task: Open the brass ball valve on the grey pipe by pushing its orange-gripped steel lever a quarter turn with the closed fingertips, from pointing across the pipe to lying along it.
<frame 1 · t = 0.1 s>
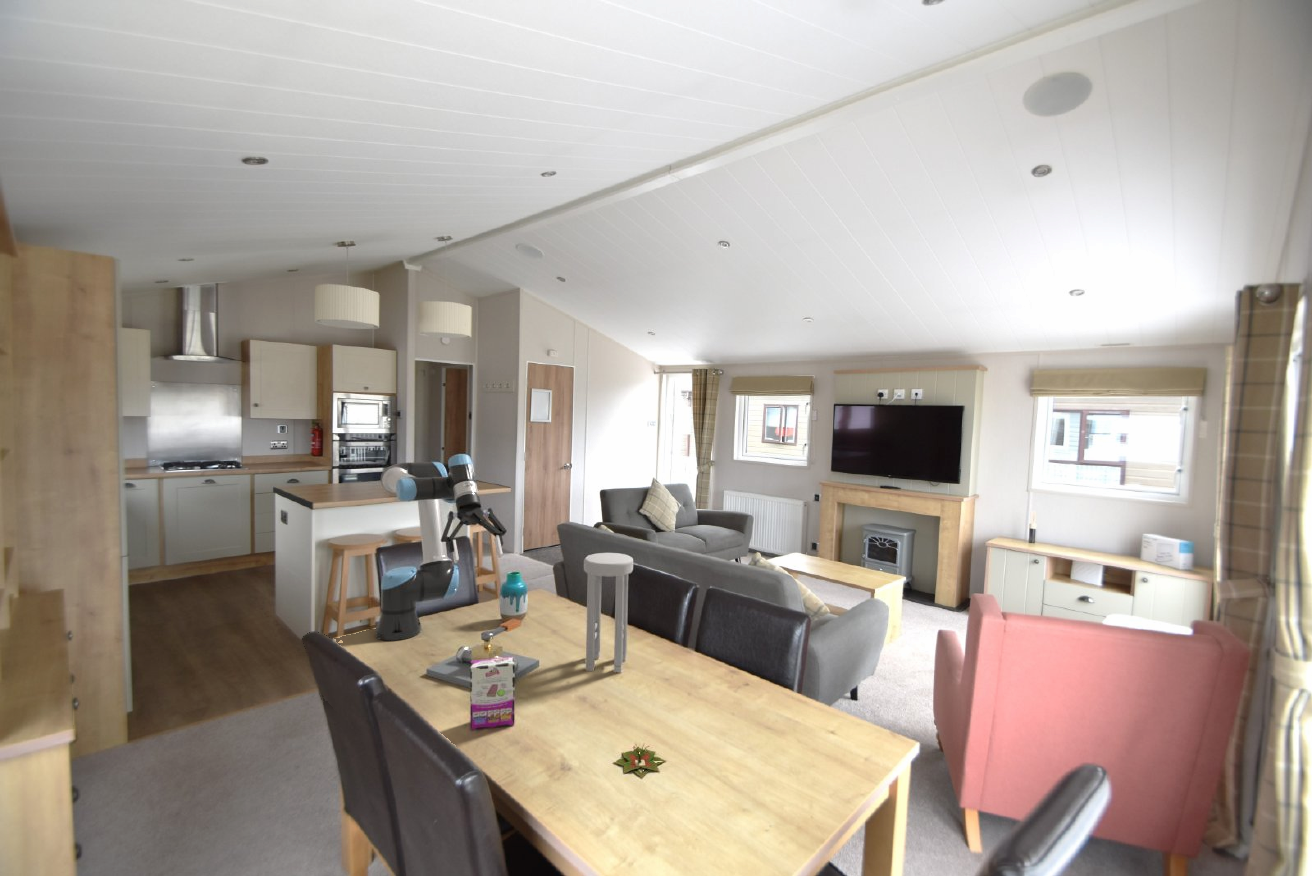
hand: (479, 558, 182), 36 cm above the table, tool tilted 35°, fingers open, 13 cm apart
valve pipe: (486, 673, 183), resting on valve board
vase: (513, 622, 229), on the table
candy bar box: (492, 724, 153), on the table
lily flower: (639, 765, 137), on the table
stool: (606, 664, 191), on the table
valve lever: (500, 629, 188), point 12 cm above the table, hinge at 0.0°
valve board: (484, 670, 184), on the table
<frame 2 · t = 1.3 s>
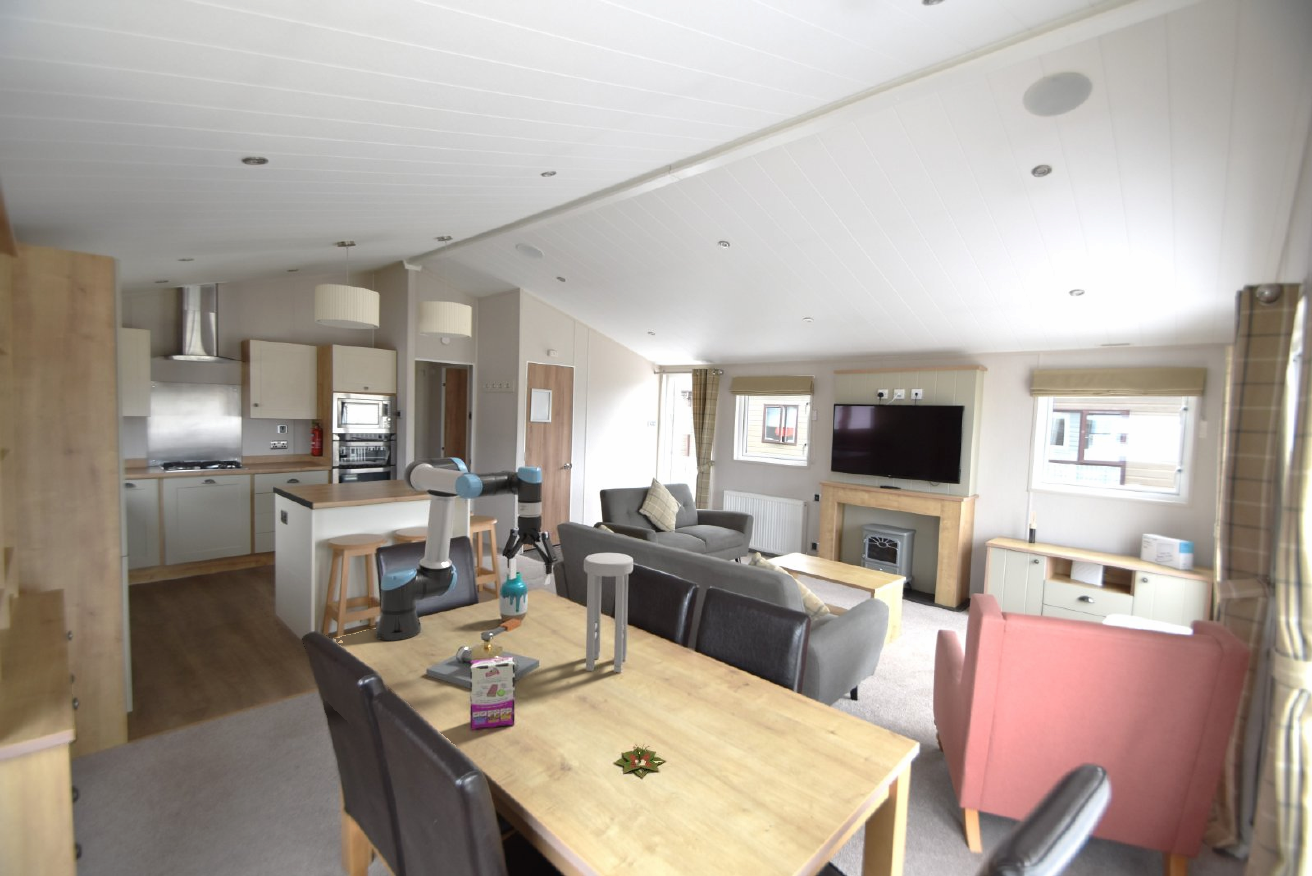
hand: (529, 581, 188), 27 cm above the table, tool pointing down, fingers open, 13 cm apart
nothing on the table moved.
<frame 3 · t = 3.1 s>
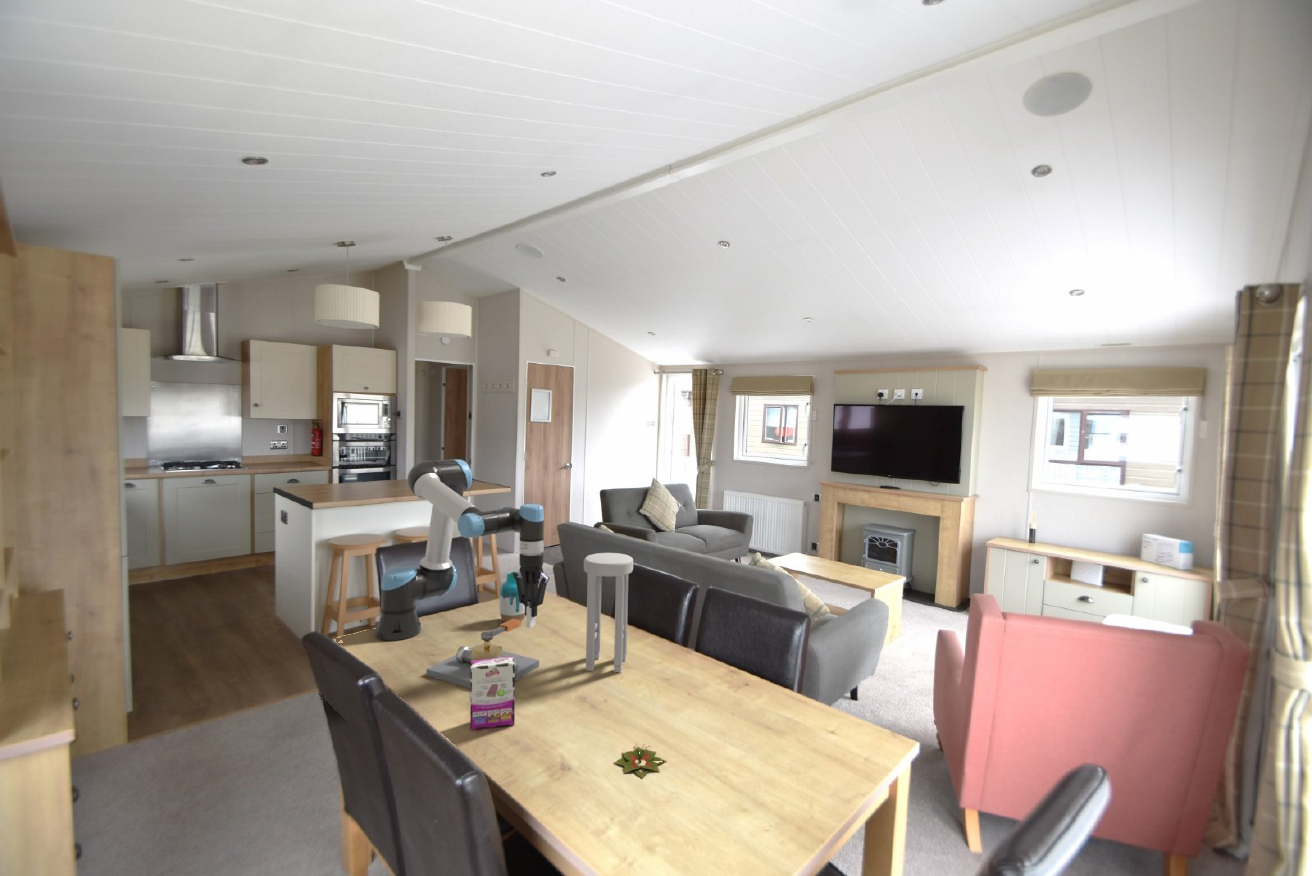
hand: (530, 626, 188), 13 cm above the table, tool pointing down, fingers closed
nothing on the table moved.
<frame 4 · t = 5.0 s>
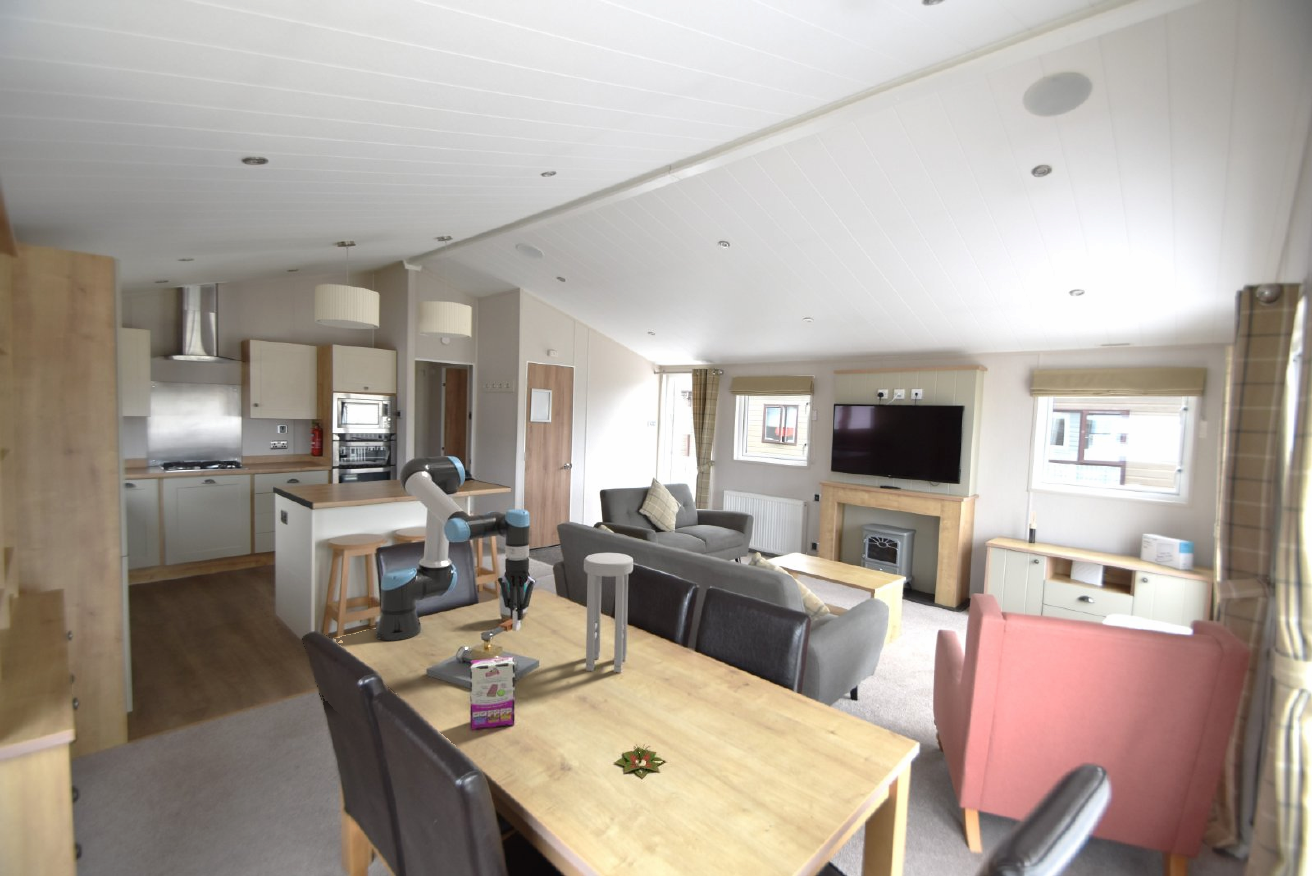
hand: (516, 629, 191), 11 cm above the table, tool pointing down, fingers closed
valve lever: (500, 629, 188), point 12 cm above the table, hinge at 1.5°, touching gripper
everything else where it was.
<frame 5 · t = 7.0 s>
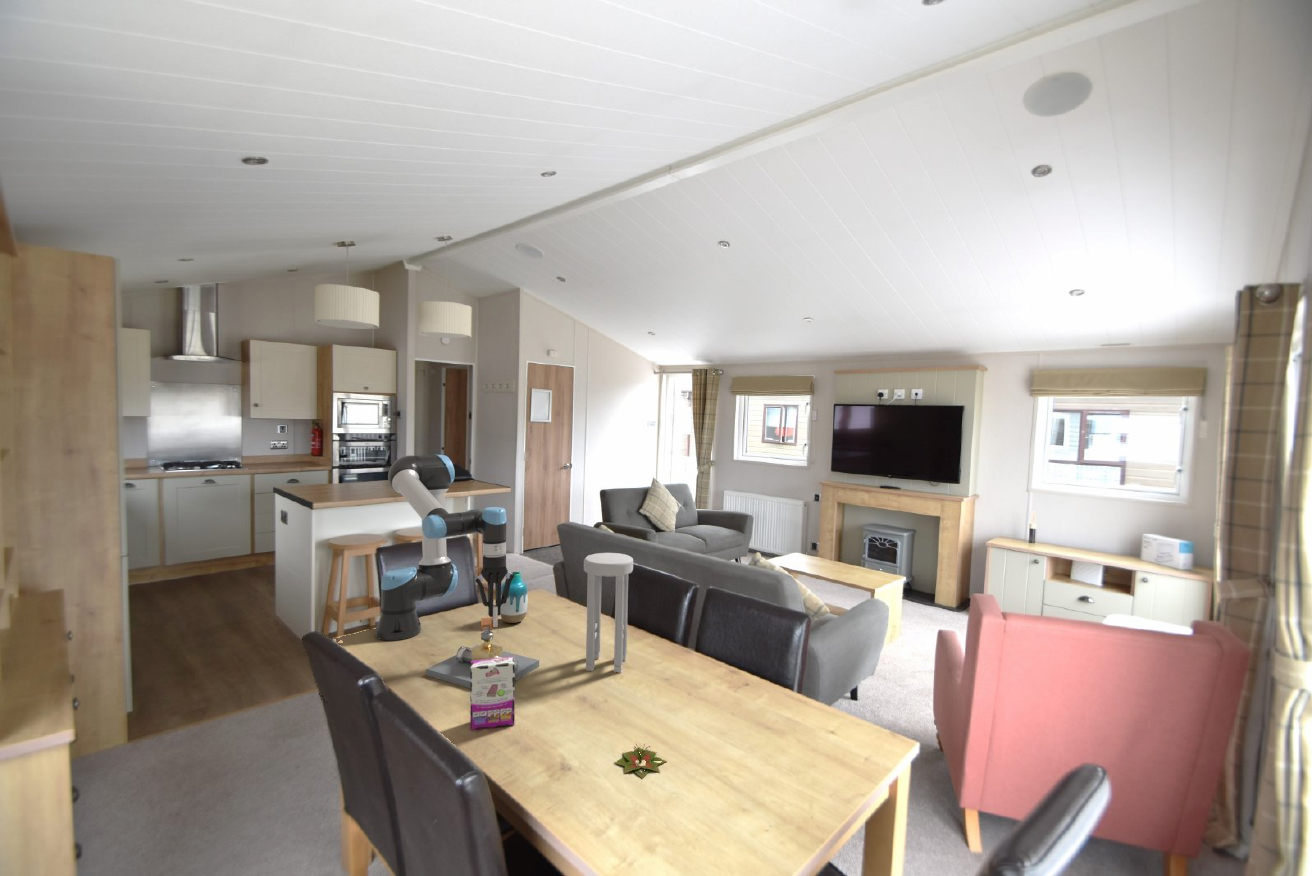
hand: (494, 625, 194), 11 cm above the table, tool pointing down, fingers closed
valve lever: (486, 629, 188), point 12 cm above the table, hinge at 43.6°, touching gripper
everything else where it was.
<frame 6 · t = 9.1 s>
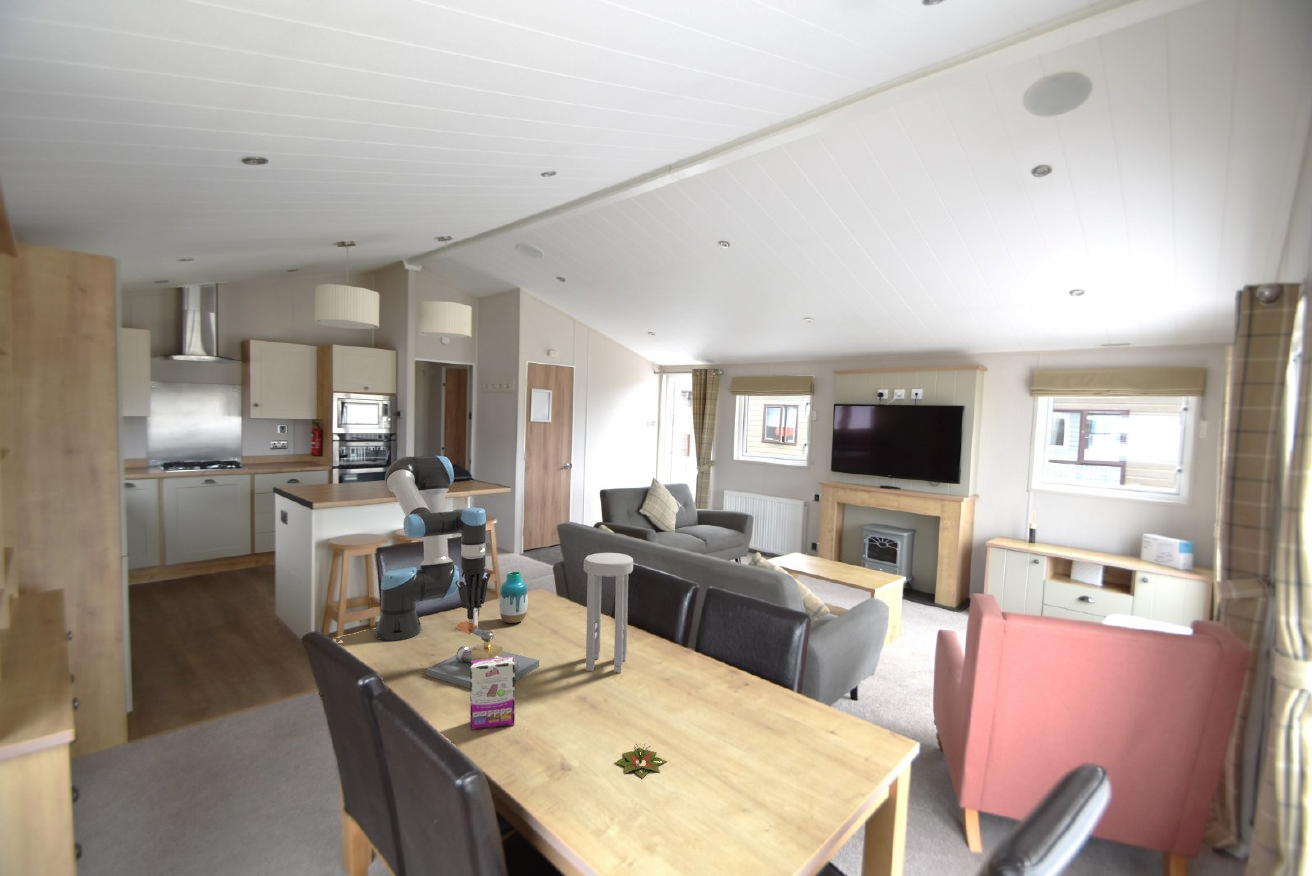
hand: (473, 627, 191), 11 cm above the table, tool pointing down, fingers closed
valve lever: (475, 631, 186), point 12 cm above the table, hinge at 76.8°, touching gripper
everything else where it was.
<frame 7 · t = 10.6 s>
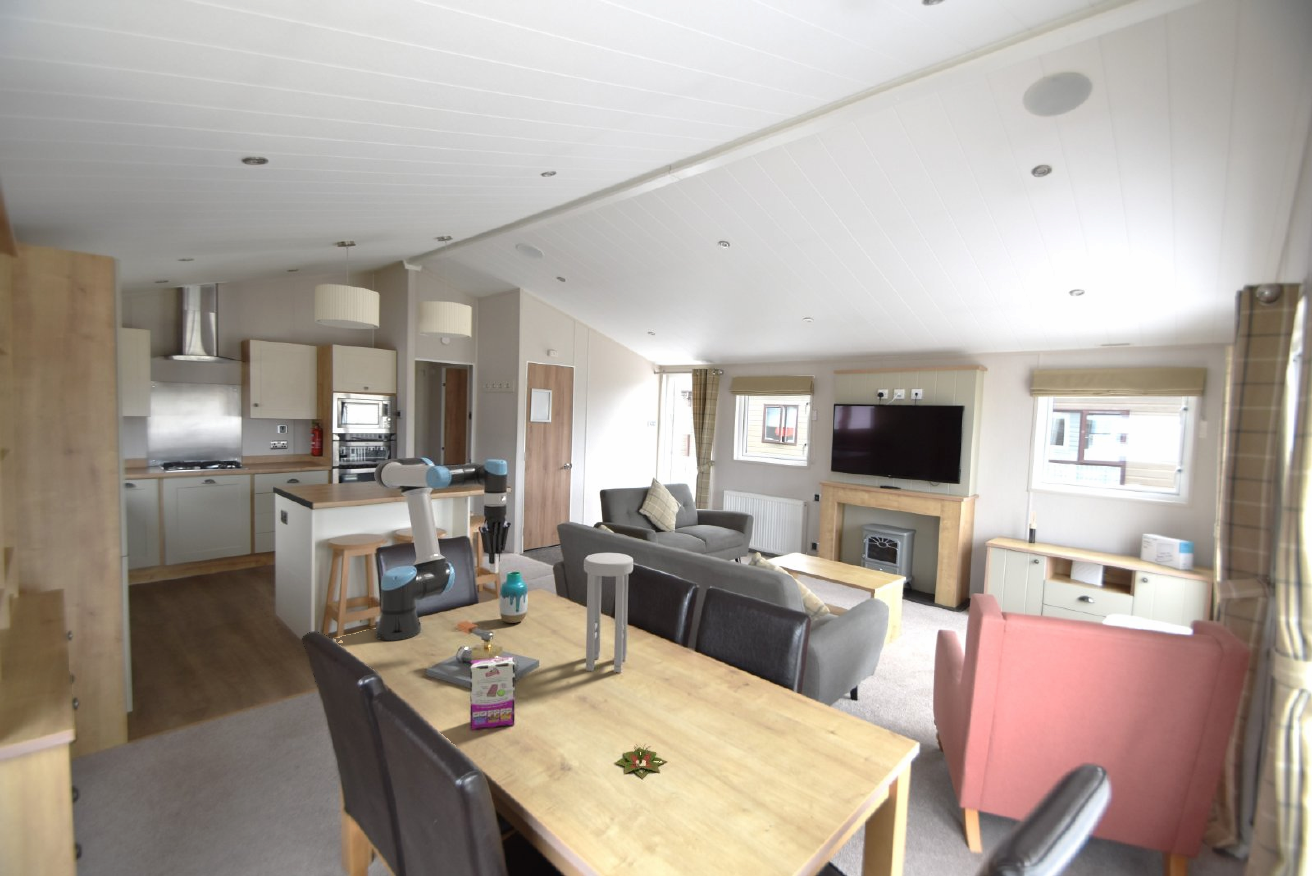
hand: (494, 572, 203), 26 cm above the table, tool pointing down, fingers closed
valve lever: (475, 631, 186), point 12 cm above the table, hinge at 76.8°
everything else where it was.
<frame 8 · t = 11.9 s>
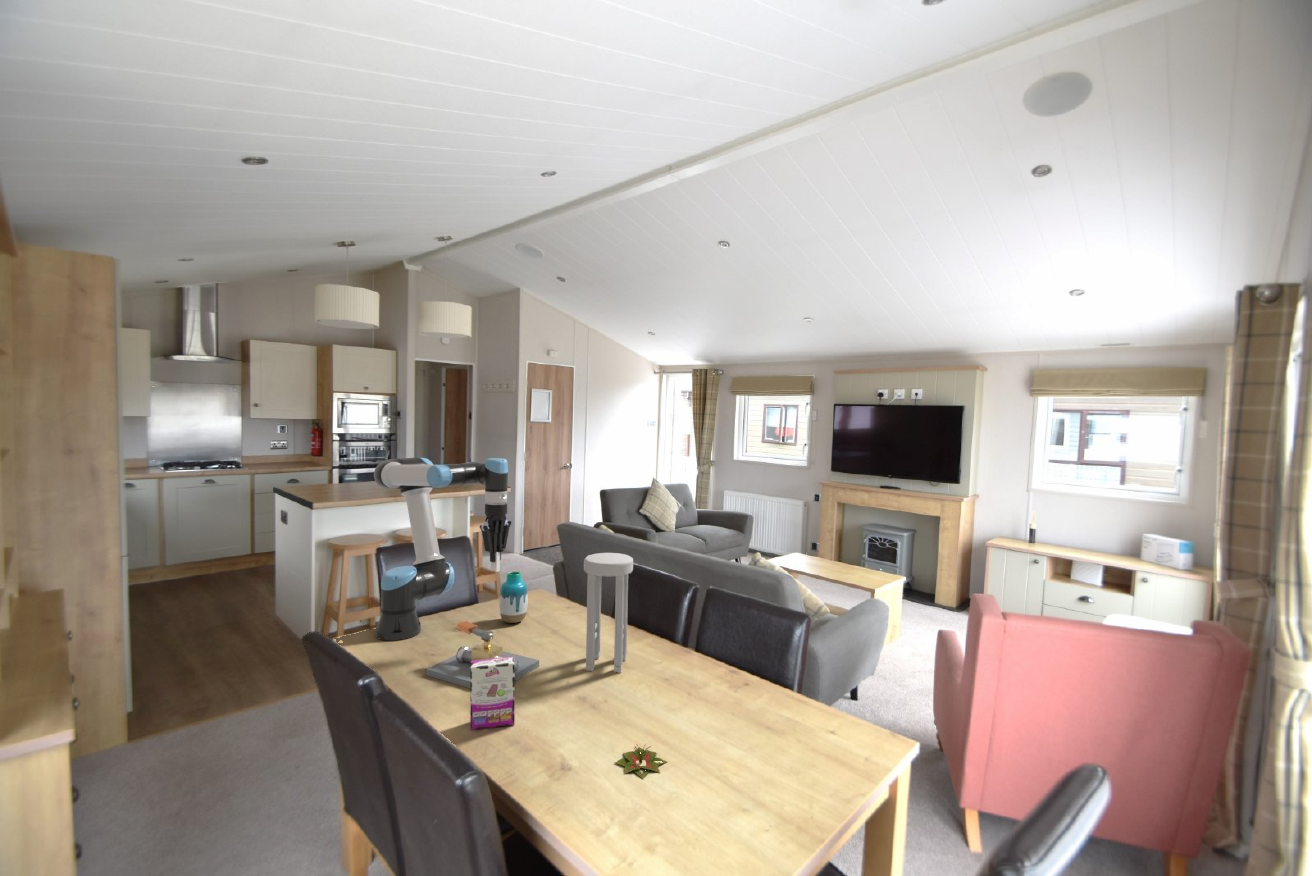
hand: (495, 570, 204), 26 cm above the table, tool pointing down, fingers closed
nothing on the table moved.
at the end: valve lever at +77° (first picture: +0°) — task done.
